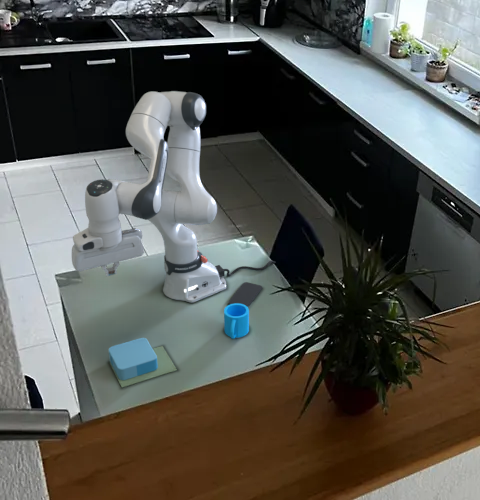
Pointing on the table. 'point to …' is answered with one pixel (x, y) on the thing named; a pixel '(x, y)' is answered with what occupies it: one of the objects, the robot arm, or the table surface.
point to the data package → (133, 358)
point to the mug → (236, 320)
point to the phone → (245, 294)
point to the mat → (163, 368)
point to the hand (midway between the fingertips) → (111, 274)
